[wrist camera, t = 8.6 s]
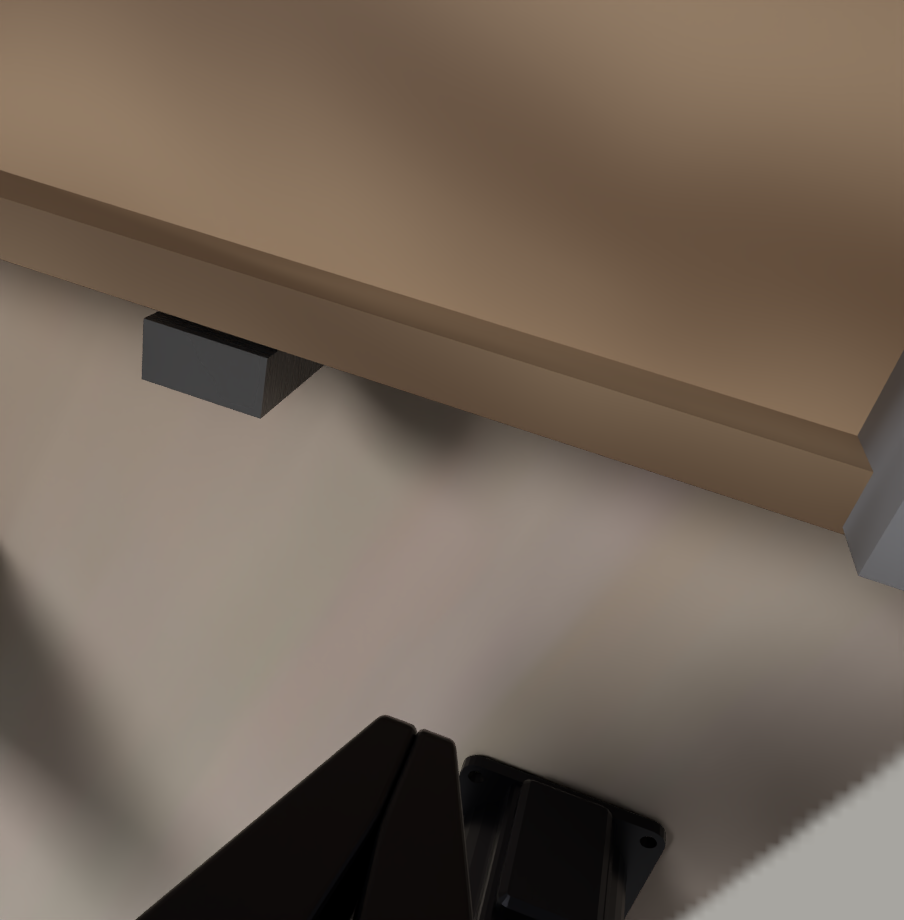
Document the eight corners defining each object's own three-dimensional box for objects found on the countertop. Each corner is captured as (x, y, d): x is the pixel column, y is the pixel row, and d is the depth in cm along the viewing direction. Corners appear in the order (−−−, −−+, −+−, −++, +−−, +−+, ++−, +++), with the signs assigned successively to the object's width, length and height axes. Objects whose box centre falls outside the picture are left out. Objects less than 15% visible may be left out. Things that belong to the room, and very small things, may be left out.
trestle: (480, 358, 19) (405, 466, 14) (182, 264, 20) (8, 334, 15) (654, -319, 13) (636, -563, 8) (218, -406, 14) (-49, -675, 9)
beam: (1021, 548, 13) (1127, 703, 10) (-381, 100, 16) (-632, 108, 13) (1501, -123, 8) (1970, -233, 5) (-554, -536, 12) (-989, -744, 9)
